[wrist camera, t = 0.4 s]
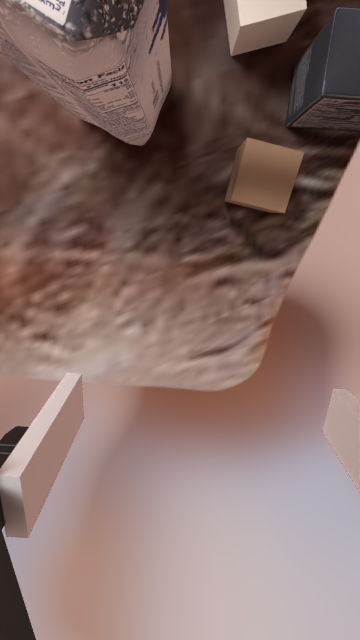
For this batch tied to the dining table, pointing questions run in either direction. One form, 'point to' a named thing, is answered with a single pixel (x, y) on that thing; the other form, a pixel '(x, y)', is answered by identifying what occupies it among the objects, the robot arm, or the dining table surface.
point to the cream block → (261, 22)
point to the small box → (329, 77)
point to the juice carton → (94, 58)
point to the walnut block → (263, 176)
